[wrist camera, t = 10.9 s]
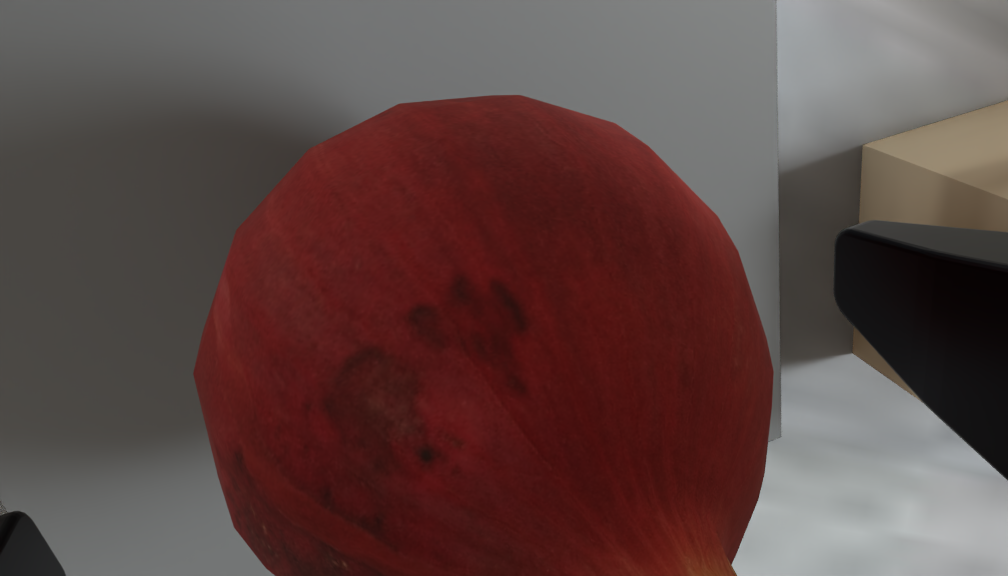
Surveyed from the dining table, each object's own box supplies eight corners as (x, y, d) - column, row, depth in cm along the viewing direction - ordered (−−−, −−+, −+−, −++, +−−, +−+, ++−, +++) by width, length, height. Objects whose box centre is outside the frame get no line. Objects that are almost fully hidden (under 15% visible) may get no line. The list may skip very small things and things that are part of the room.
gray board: (739, 398, 18) (780, 436, 16) (131, 627, 15) (126, 694, 14) (708, -328, 11) (772, -357, 10) (-337, -154, 9) (-430, -164, 8)
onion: (238, 457, 12) (318, 1119, 6) (144, 76, 10) (83, 436, 3) (582, 370, 14) (965, 795, 7) (577, 27, 12) (1159, 187, 5)
